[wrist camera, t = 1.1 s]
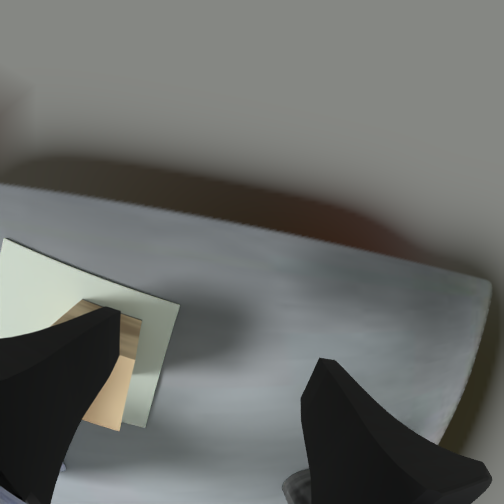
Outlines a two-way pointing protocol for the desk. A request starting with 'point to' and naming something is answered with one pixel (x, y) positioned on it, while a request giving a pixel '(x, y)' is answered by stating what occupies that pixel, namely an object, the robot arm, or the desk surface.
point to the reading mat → (68, 295)
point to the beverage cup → (298, 488)
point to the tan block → (116, 388)
